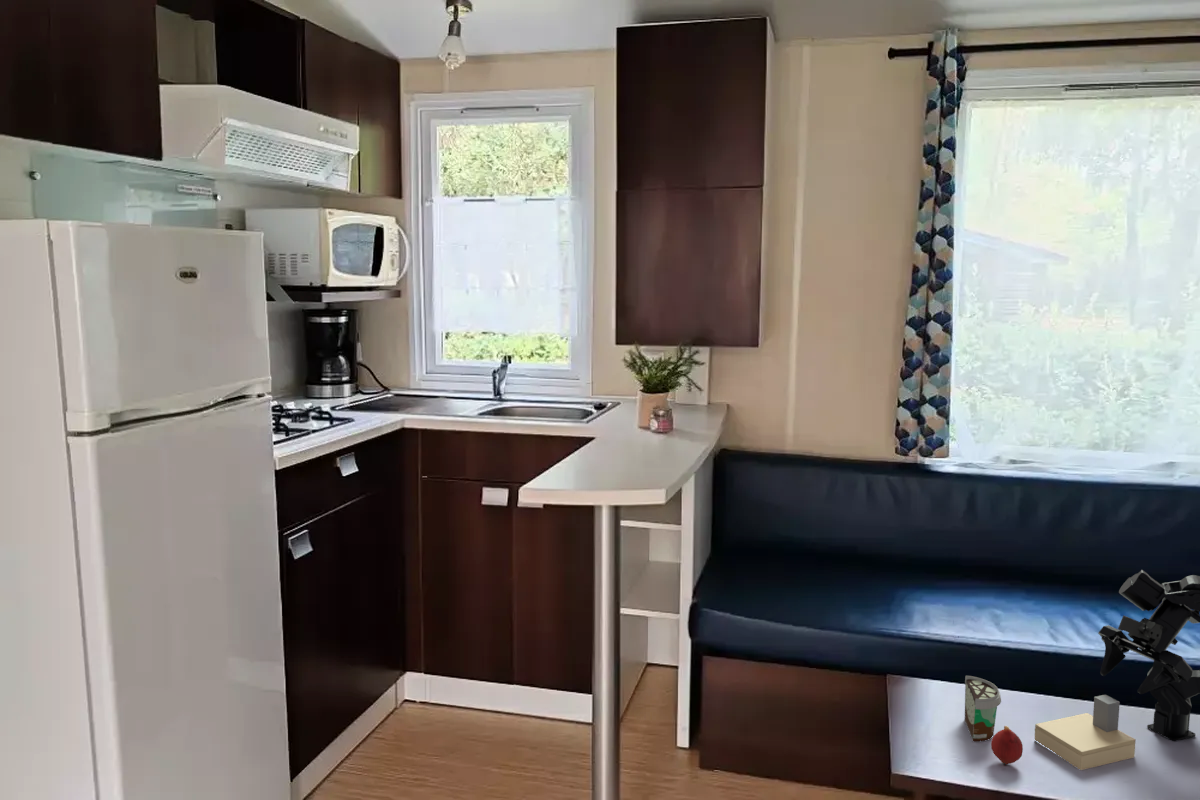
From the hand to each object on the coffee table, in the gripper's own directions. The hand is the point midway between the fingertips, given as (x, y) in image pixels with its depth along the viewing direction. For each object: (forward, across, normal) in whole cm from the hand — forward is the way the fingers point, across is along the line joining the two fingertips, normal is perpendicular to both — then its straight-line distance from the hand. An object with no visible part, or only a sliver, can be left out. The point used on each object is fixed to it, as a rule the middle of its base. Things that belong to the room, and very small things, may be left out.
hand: (1120, 683), depth 192 cm
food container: (+26, -13, -7) cm, 29 cm away
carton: (+15, 0, +3) cm, 16 cm away
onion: (+29, -1, -11) cm, 31 cm away
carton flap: (+13, 0, 0) cm, 13 cm away
